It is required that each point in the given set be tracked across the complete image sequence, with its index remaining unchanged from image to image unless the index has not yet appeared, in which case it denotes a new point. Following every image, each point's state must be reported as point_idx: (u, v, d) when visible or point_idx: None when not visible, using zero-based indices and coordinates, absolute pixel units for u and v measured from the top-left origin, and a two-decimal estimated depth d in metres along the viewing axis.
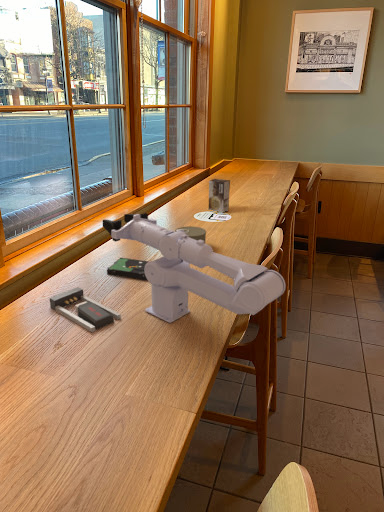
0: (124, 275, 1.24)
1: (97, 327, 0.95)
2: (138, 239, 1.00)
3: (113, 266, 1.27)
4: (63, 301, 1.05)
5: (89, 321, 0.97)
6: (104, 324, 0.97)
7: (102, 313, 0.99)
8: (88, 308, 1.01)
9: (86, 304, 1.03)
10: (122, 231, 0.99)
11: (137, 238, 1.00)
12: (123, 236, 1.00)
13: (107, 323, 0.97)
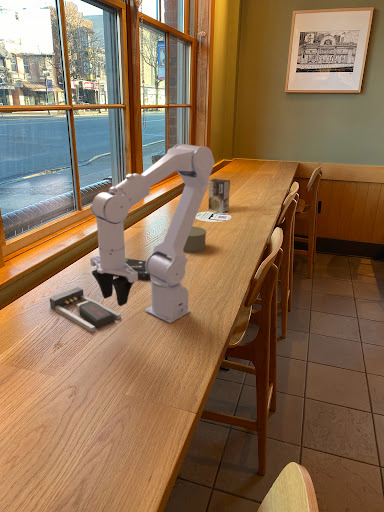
0: None
1: (98, 326, 0.96)
2: (123, 253, 0.87)
3: None
4: (63, 301, 1.05)
5: (90, 320, 0.97)
6: (105, 323, 0.97)
7: (103, 312, 0.99)
8: (89, 307, 1.01)
9: (87, 303, 1.03)
10: (125, 272, 0.85)
11: (123, 254, 0.87)
12: (129, 269, 0.86)
13: (108, 322, 0.98)
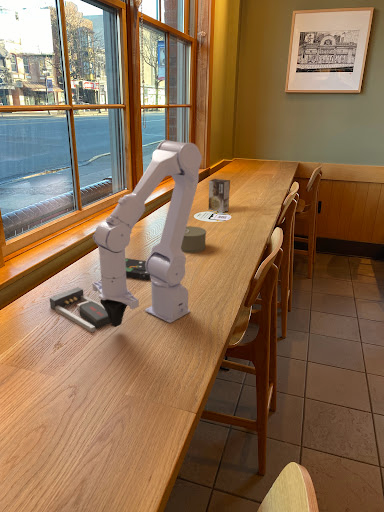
0: None
1: (98, 326, 0.96)
2: (125, 280, 0.89)
3: None
4: (63, 301, 1.05)
5: (90, 320, 0.97)
6: (105, 324, 0.97)
7: (103, 313, 0.99)
8: (89, 307, 1.01)
9: (88, 303, 1.03)
10: (126, 299, 0.88)
11: (124, 281, 0.89)
12: (130, 296, 0.89)
13: (108, 323, 0.98)
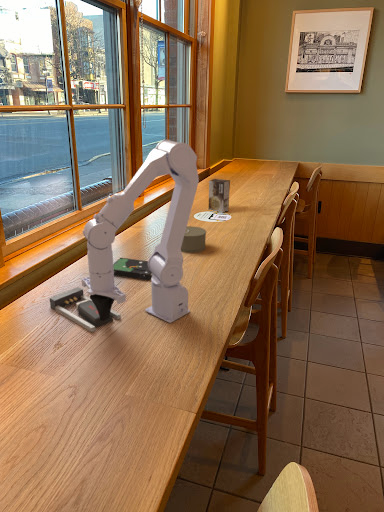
0: (125, 275, 1.24)
1: (96, 325, 0.96)
2: (112, 275, 0.92)
3: (113, 266, 1.27)
4: (63, 301, 1.05)
5: (88, 319, 0.98)
6: (103, 322, 0.97)
7: None
8: (88, 306, 1.02)
9: (86, 302, 1.04)
10: (114, 294, 0.91)
11: (112, 277, 0.92)
12: (118, 291, 0.92)
13: (106, 321, 0.98)
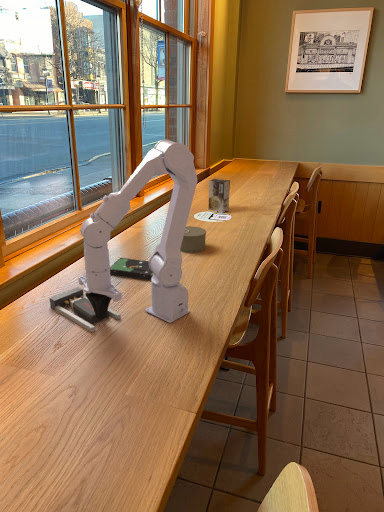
0: (125, 275, 1.24)
1: (92, 322, 0.98)
2: (108, 274, 0.93)
3: (113, 266, 1.27)
4: (63, 301, 1.05)
5: (84, 316, 0.99)
6: (99, 319, 0.99)
7: None
8: (83, 304, 1.03)
9: (81, 300, 1.05)
10: (110, 292, 0.91)
11: (108, 275, 0.93)
12: (114, 289, 0.93)
13: None
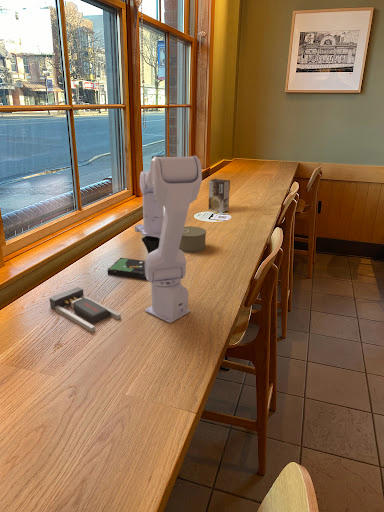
0: (125, 275, 1.24)
1: (94, 322, 0.98)
2: (163, 220, 1.08)
3: (114, 266, 1.27)
4: (63, 301, 1.05)
5: (86, 316, 0.99)
6: (101, 319, 0.99)
7: (98, 308, 1.01)
8: (84, 304, 1.03)
9: (81, 300, 1.05)
10: None
11: (162, 221, 1.08)
12: None
13: (103, 318, 1.00)
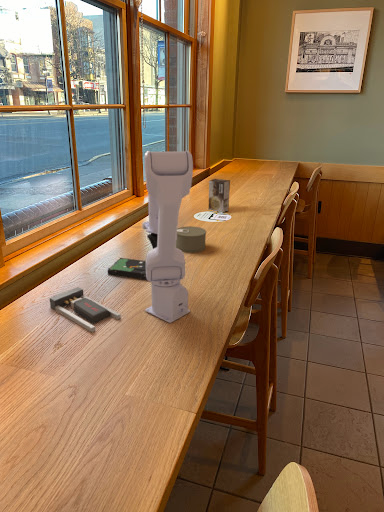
0: (125, 275, 1.24)
1: (94, 322, 0.98)
2: None
3: (114, 266, 1.27)
4: (63, 301, 1.05)
5: (86, 316, 0.99)
6: (101, 319, 0.99)
7: (98, 308, 1.01)
8: (84, 304, 1.03)
9: (82, 300, 1.05)
10: None
11: None
12: None
13: (104, 318, 1.00)
